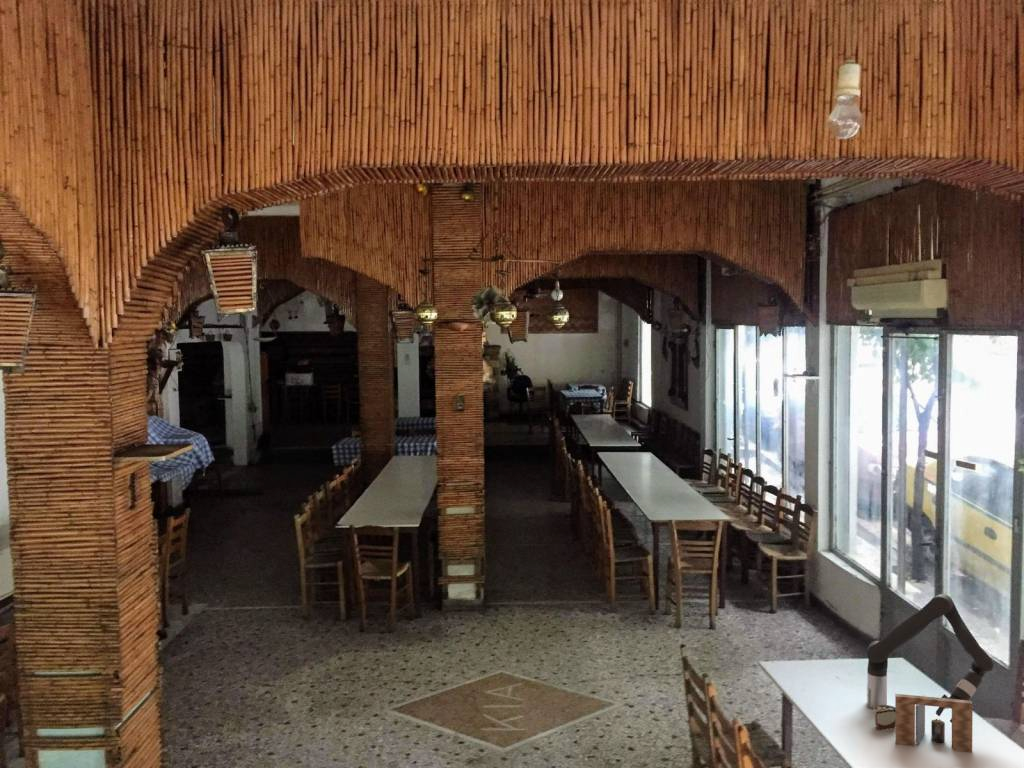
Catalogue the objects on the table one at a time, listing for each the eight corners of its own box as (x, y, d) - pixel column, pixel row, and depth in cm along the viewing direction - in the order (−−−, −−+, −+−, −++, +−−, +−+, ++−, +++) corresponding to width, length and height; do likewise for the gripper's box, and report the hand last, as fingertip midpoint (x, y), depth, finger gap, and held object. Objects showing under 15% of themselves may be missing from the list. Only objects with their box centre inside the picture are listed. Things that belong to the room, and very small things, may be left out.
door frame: (896, 744, 398) (896, 696, 396) (895, 741, 401) (895, 693, 399) (972, 752, 388) (972, 703, 387) (970, 749, 391) (971, 700, 390)
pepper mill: (932, 742, 398) (932, 720, 397) (930, 737, 403) (930, 715, 403) (945, 744, 396) (945, 721, 396) (943, 738, 402) (943, 716, 401)
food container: (889, 722, 419) (889, 702, 419) (897, 728, 413) (897, 708, 413) (867, 725, 417) (867, 705, 416) (875, 731, 411) (875, 711, 410)
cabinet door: (918, 743, 397) (918, 706, 395) (912, 742, 398) (912, 704, 397) (924, 732, 408) (925, 695, 407) (919, 730, 409) (919, 694, 408)
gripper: (947, 681, 409) (928, 707, 406) (971, 692, 395) (951, 720, 392) (956, 690, 411) (937, 716, 408) (980, 702, 397) (960, 730, 394)
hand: (944, 718), depth 400 cm, fingers open, 8 cm apart
